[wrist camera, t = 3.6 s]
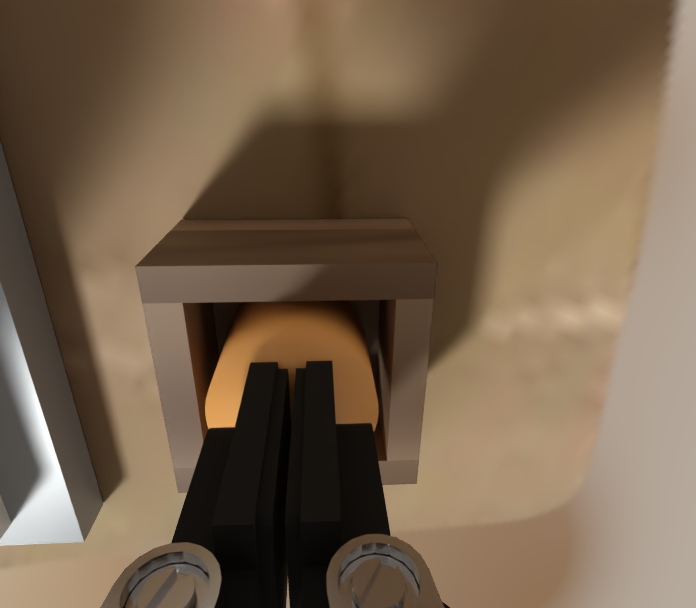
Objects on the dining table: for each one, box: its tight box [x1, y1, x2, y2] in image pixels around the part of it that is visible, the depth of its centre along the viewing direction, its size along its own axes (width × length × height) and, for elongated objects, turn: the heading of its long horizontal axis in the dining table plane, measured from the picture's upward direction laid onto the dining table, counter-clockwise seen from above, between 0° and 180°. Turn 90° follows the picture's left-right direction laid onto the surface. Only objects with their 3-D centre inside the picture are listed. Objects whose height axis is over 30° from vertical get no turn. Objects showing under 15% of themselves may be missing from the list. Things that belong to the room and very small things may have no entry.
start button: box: [205, 300, 379, 431], centre depth 11 cm, size 4×4×3 cm
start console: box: [135, 219, 437, 493], centre depth 12 cm, size 6×6×4 cm
